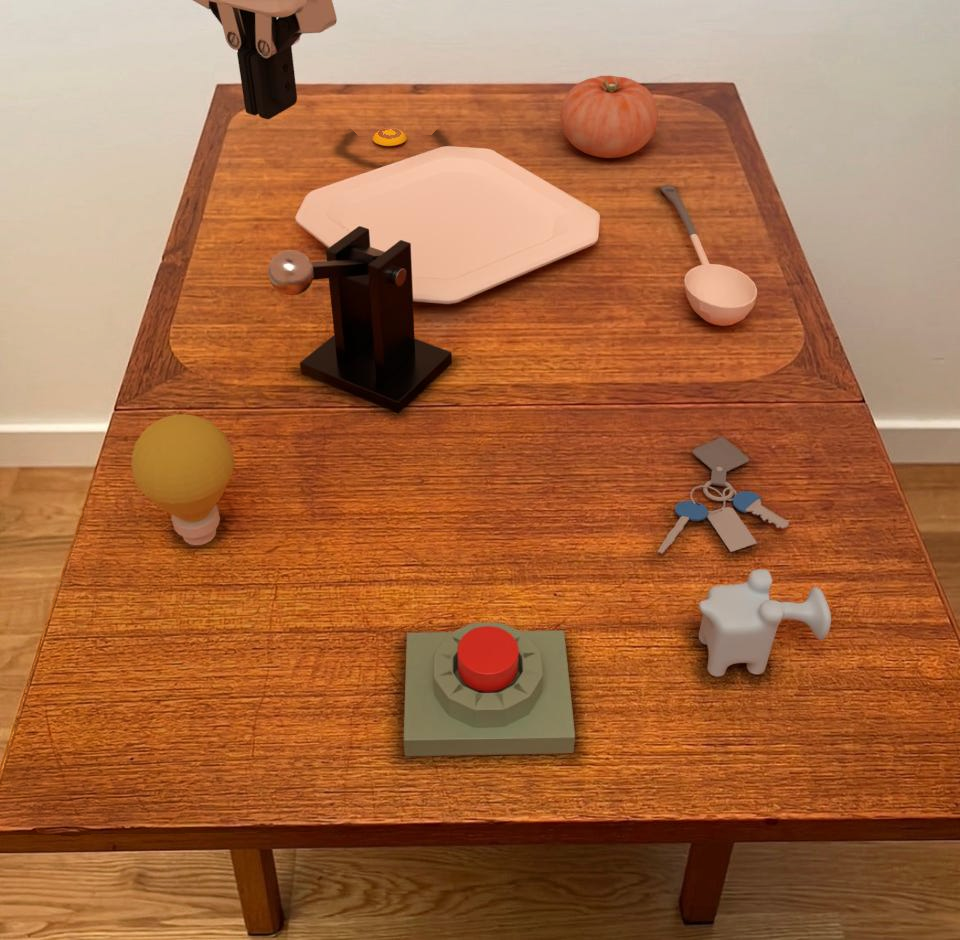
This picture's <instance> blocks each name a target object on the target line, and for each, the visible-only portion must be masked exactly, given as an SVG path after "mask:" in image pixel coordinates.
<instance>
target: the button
mask: <svg viewBox="0 0 960 940" xmlns="http://www.w3.org/2000/svg"><path fill="white" fill-rule="evenodd" d="M518 655H519V649H518V644H517V642H516V640H515V639H514V637H513V636H512V635H511V634H510V633H508V632H507V631H505V630H503V629H501V628H498V627H492V626H483V627H478V628H475V629H473V630H471V631H469V632H468V633H466V634H465V635H464V636H463V637H462V639H461V640H460V642H459V644H458V672H459V675H460V677H461V679H462V680H463V681H464V683H465V684H467V685H468V686H469V687H471V688H473V689H475V690H478V691H483V692H494V691H498V690H501V689H503V688H505V687H507V686H508V685H509V684H511V683H512V681H513V680H514V679H515V677H516V675H517V671H518Z"/></svg>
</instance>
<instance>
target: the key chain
mask: <svg viewBox="0 0 960 940" xmlns="http://www.w3.org/2000/svg"><path fill="white" fill-rule="evenodd" d="M691 453H692V454H693V456H695V457H696V458H697V459H698V460H699V461H700V462H702V463H703V464H704V465H705V466H707V467H708V468H709V469H710V470H711V475H710V480H708V481H706V482H705V483H704V485H702V484H700V485H697V486H694V487H693V488H692V489H691V490H690V496H689V497H690V499H691V500H683V501H680V502H678V503H677V504H675V507H674V512H675V515H677V516H678V517H679V519H678V520H677V521H676V523H675V525H674V527H673V528H671V530H670V531H669V532H668V534H667V535H666V537H665V539H664V540H663V542H662V543H661V545H660V546H659V548H658V550H657V553H658V554H660V555H663V554H664V553H665V552H666V551H667V549H668V548H669V547H670V546H672V544H673V543H674V542H675V540H676V538H677V537H678V535H679V534H680V533H681V532H682V531H683V530H684V527H685V526H686V524H687V523H688V522H689V521H692V522H700V521H703V520H705V519H706V518H707V519H708V521H709V523H710V524H711V525H712V527H713V528H714V529H715V531H716V533H717V534H718V536H719V537H720V539H721V540H722V542H723V543H724V545H725V546H726V547H727V550H729V552H730V553H733V552H736V551H738V550H742V549H744V548H748V547H750V546H753V545H756V544H758V541H757V540H756V539H755V538H754V536H753V535H752V533H751V532H750V530H749V529H748V527H747V526H746V524H745V523H744V522H743V520H742V519H741V517H740V516H739V515H738V514H737V512H736V510H737V511H739V512H741V513H743V514H746V513H751V514H752V515H754V516H755V515H756V516H757V517H758V516H760V518H761V520H762V521H763V522H766V521H767V523H769V524H774V525H775V528H777V529H782V530H783V529H786V528H788V527H789V524H790V521H788V520H787V519H785V518H783V517H782V516H780V515H778V514H777V513H775V512H773V511H772V510H770V509H769V508H768V507H766V506H764V505H762V497H761V496H760V495H759V494H758V493H755V492H753V491H751V490H750V491H749V490H748V491H747V490H743V491H740V492H738V493H737V490H735V489H734V488H733V486H732V485H731V483H729V482H728V481H727V472H729V471H733V470H735V469H737V468H738V467H740V466H742V465H744V464H747V463H749V462H750V457H749V456H747V455H746V454H745V453H743V452H742V451H741V450H740V449H739V448H738V447H737V446H735V445H734V444H733V443H731V442H730V440H728V439H727V438H725V437H723V436H722V437H717V438H716V439H714V440H711V441H709V442H707V443H704V444H702V445H700V446H698V447H695V448H693V449H692V450H691ZM712 485H713V486H720V487H725V488H723V491H722V492H720V490H718V489H717V488H715V487H712ZM699 488H702V492H703V493H704V496H706V497H707V498H708V499H710V500H712V501H714V502H723V505H722V507H721V508H718V509H715V510H708V508H707V506H705V505H704V504H702V503H699V502H698V501H695V499H694V498H693V494H694V493H693V492H694V491H695V490H696V489H699ZM708 488H709V489H711V490H713V491H715V492H717V493H718V494H719V495H720V496H716V495H713V494H712V493H710V492H709V490H708ZM728 490H729V492H728V494H727V495H726V492H727V491H728ZM732 497H733V498H732ZM726 501H729V502H732V503H733V504H732V505H733V507H734V508H735V509H736V510H735V509H734V508H733V507H731V506H726Z"/></svg>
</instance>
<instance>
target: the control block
mask: <svg viewBox="0 0 960 940" xmlns="http://www.w3.org/2000/svg"><path fill="white" fill-rule="evenodd" d="M483 626H492V627H498V628H501V629H503V630H505V631H507V632H508V633H510V634H511V635H512V636H513V637H514V639H515V640H516V642H517V644H518V649H519V655H518V671H517V675H516V677H515V679H514V680H513V681H512V683H511V684H509V685H508V686H507V687H505V688H503V689H501V690H498V691H494V692H483V691H478V690H475V689H473V688H471V687H469V686H468V685H467V684H465V683H464V681H463V680H462V679H461V677H460V675H459V672H458V644H459V642H460V640H461V639H462V637H463V636H464V635H465V634H466V633H468V632H469V631H471V630H473V629H475V628H478V627H483ZM565 634H566V633H565V630H562V629H559V630H554V629H553V630H519V629H517V628H515V627H512V626H510V625H507V624H505V623H504V622H498V621H497V622H495V621H493V622H492V621H491V622H470V623H469V624H467V625H464V626H462V627H460V628H458V629H456V630H454V631H434V632H433V631H428V632H426V631H425V632H424V631H423V632H421V631H420V632H406V643H405V645H406V646H405V647H406V648H405V676H404V677H405V678H404V679H405V680H404V711H403V713H404V714H403V737H402V738H403V740H402V741H403V753H404V757H441V756H442V757H444V756H448V757H449V756H497V755H499V756H500V755H501V756H503V755H554V754H555V755H557V754H558V755H559V754H574V752H575V742H576V731H575V729H576V728H575V722H574V721H575V719H574V710H573V702H572V701H573V700H572V693H571V682H570V674H569V664H568V663H569V662H568V654H567V645H566V636H565Z"/></svg>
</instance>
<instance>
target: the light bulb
mask: <svg viewBox="0 0 960 940" xmlns="http://www.w3.org/2000/svg"><path fill="white" fill-rule="evenodd" d="M234 457H235V456H234V452H233V450H232V447H231V444H230V442H229V440H228V438H227V436H226V435H225V434H224V432H222V430H220V428H218V427H217V426H216V425H215V424H214V423H213V422H211V421H209V420H208V419H205V418H202V417H201V416H198V415H194V414H186V413H181V414H179V413H178V414H172V415H168V416H164V417H162V418H160V419H158V420H156V421H154V422H152V423H151V424H150V425H149V426H147V427H146V428H145V429H144V430H143V432H142V433H141V434H140V436H139V437H138V438H137V440H136V442H135V443H134V446H133V450H132V455H131V460H130V468H131V474H132V477H133V480H134V483H135V486H136V488H137V489H138V490H139V491H140V493H142V494H143V495H144V496H145V497H146V498H147V499H148V500H149V501H151V502H152V503H153V504H155V505H156V506H157V507H158V508H160V510H162V511H164V512H166V513H168V514H170V519H171V522H172V525H173V529H174V531H175V532H176V533H177V534H178V536H181V537H182V539H183V541H184V542H185V543H187V544H189V545H191V546H202V545H206V544H207V543H209V542H211V541H212V540H213V539H214V538H215V536H216V535H217V528H218V526H219V525H220V521H221V516H220V512H219V508H218V505H217V504H218V502H219V501H220V500H221V498H222V496H223V494H224V493H225V490H226V489H227V486H228V484H229V482H230V480H231V478H232V476H233V473H234V468H235V467H234V466H235V458H234Z"/></svg>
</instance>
